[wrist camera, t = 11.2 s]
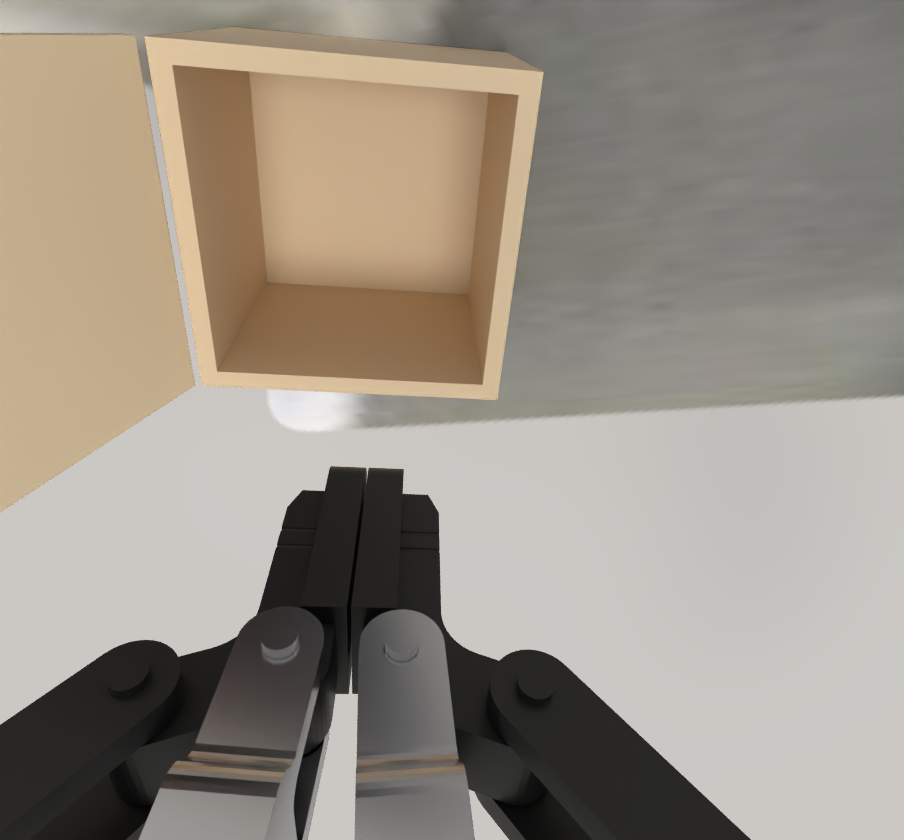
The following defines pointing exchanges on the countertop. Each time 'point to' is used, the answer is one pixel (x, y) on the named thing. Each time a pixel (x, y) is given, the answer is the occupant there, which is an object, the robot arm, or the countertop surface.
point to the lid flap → (80, 256)
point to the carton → (345, 207)
